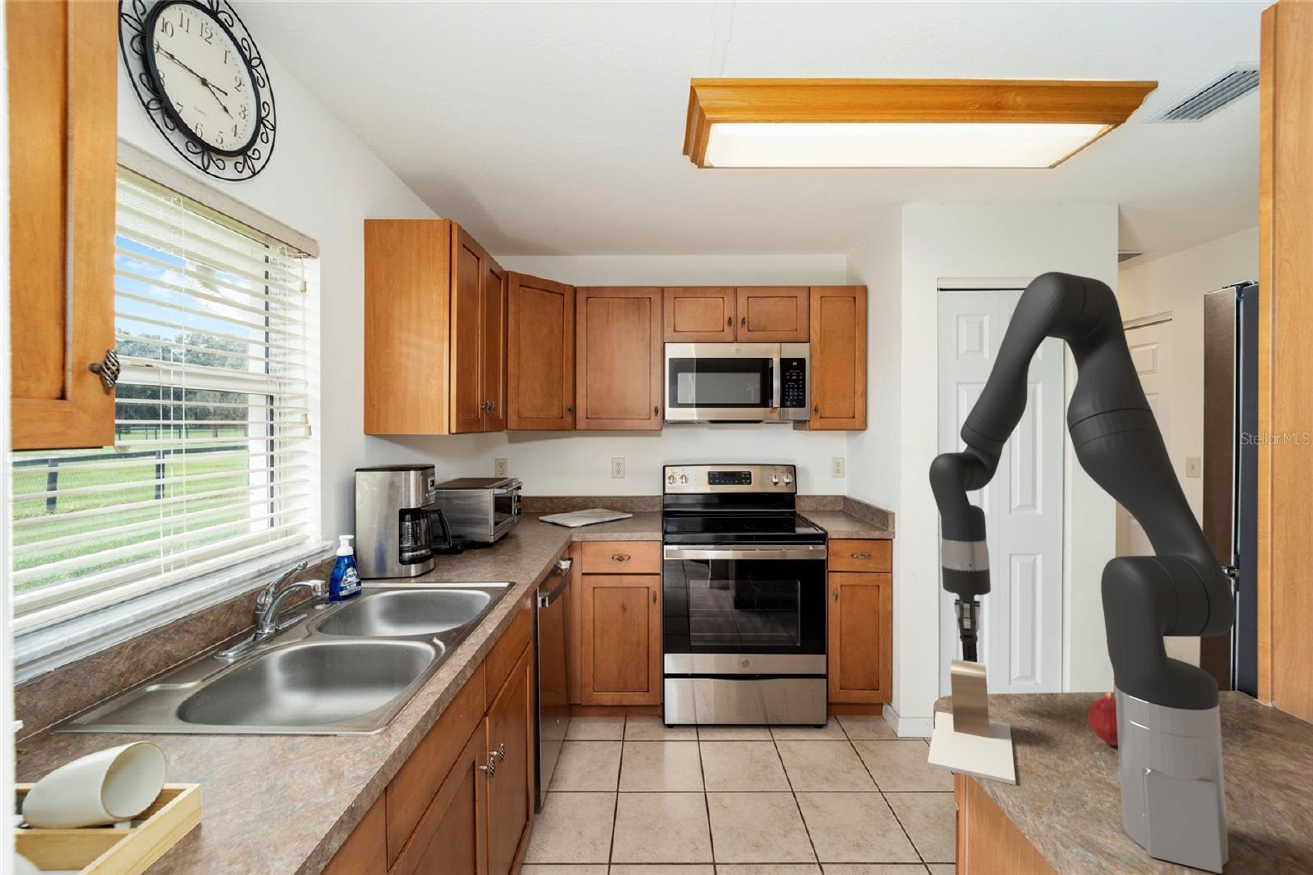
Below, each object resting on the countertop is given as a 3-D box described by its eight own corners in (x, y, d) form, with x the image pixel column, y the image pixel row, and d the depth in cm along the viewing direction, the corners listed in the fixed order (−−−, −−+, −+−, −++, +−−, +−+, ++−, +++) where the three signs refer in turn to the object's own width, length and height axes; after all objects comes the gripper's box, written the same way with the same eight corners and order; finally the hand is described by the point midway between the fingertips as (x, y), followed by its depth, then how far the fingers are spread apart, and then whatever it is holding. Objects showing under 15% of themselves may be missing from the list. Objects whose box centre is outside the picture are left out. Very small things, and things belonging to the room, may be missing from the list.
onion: (1144, 758, 84) (1141, 703, 85) (1098, 752, 86) (1095, 699, 86) (1126, 738, 90) (1123, 687, 90) (1083, 734, 92) (1080, 684, 92)
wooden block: (989, 738, 91) (985, 674, 91) (953, 731, 93) (950, 669, 93) (988, 724, 95) (985, 663, 95) (955, 718, 97) (951, 659, 98)
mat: (1015, 785, 79) (1015, 780, 79) (927, 766, 85) (927, 762, 85) (1009, 727, 95) (1009, 724, 95) (936, 714, 100) (936, 711, 100)
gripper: (989, 573, 94) (995, 679, 94) (989, 558, 106) (994, 653, 105) (939, 570, 98) (944, 672, 98) (943, 556, 109) (948, 647, 109)
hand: (970, 662), depth 101 cm, fingers closed
